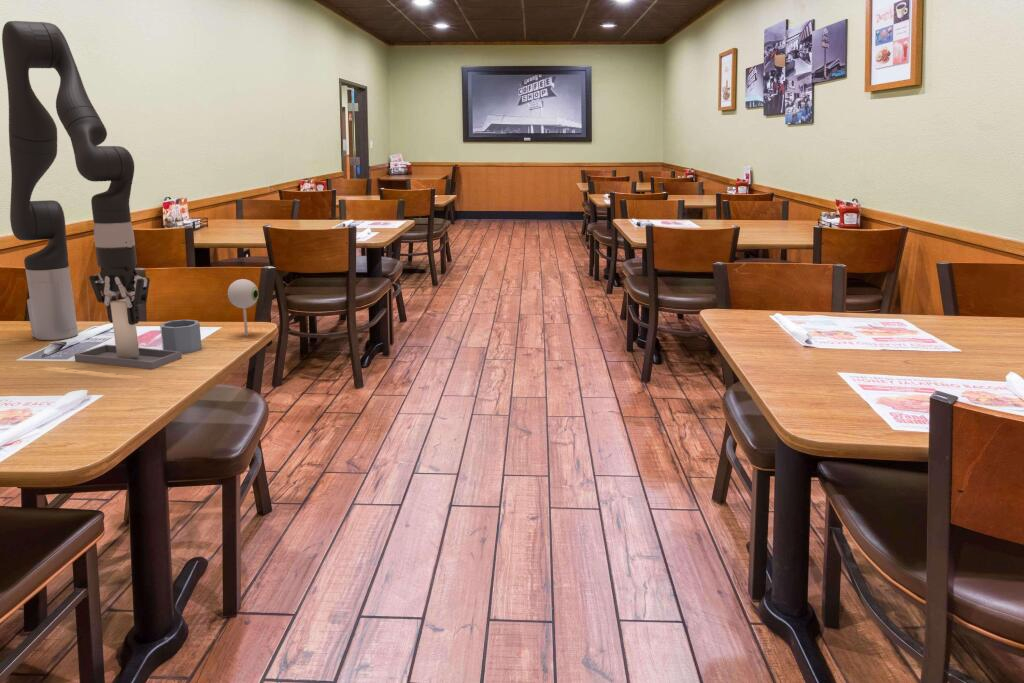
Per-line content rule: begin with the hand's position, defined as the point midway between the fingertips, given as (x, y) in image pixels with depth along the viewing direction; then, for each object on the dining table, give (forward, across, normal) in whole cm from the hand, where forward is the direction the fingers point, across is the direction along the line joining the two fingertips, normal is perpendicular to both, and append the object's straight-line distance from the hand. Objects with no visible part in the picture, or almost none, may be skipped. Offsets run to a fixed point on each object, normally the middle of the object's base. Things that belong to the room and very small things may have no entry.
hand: (124, 322), depth 167 cm
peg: (+7, 0, 0) cm, 7 cm away
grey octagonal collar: (+9, +5, +11) cm, 15 cm away
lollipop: (+9, +11, +27) cm, 31 cm away
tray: (+9, 0, 0) cm, 9 cm away
